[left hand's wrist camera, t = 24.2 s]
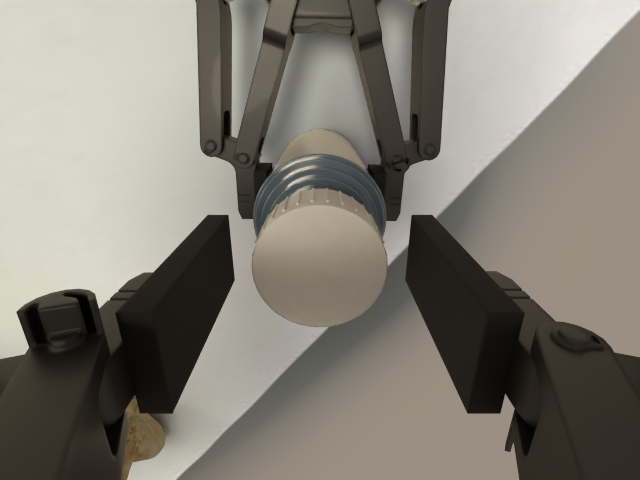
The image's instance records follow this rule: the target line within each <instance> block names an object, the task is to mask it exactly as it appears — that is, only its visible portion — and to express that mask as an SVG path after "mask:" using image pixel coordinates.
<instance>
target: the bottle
mask: <svg viewBox="0 0 640 480" xmlns="http://www.w3.org/2000/svg"><path fill="white" fill-rule="evenodd" d="M312 188H314V189H326V188H328V189H329V190H334V191H338V192H339V191H341V193H343V194H346V195H348V196H350V197H351V196H352V197H354V199H355V200H356V201H357V202H359V203H360V204H361V205H362V204H363V205H364V207H365V209H366V211H367V212H368V213H369V215H370V214H371V215H372V217H373V219H374V221H375V224H376V225H377V227H378V229H379V232H380V234H381V236H382V238H383V235H384V232H385V226H386V207H385V203H384V199H383V196H382V194H381V191H380V189H379V187H378V186H377V184H376V182H375V181H374V179H373V178H372V176H371V175H370V173H369V171H368V170H367V168H366V167H365V165H364V164H363V162H362V161H361V159H360V158H359V156H358V155H357V153H356V151H355V150H354V148H353V147H352V145H351V144H350V143H349V142H348V141H347V140H346V139H345V138H344V137H343V136H341V135H340V134H338V133H336V132H333V131H330V130H326V129H314V130H309V131H306V132H304V133H302V134H300V135H299V136H297V137H296V138H295V139H293V140H292V141H291V143H290V144H289V145H288V147H287V148H286V150H285V151H284V153H283V154H282V156H281V157H280V159H279V160H278V162H277V163H276V165H275V166H274V168H273V169H272V171H271V173H270V174H269V176H268V177H267V179H266V180H265V182H264V183H263V185H262V186H261V188H260V190H259V192H258V195H257V198H256V201H255V205H254V211H253V222H254V229H255V233H256V236H257V237H258V235H259V232H260V230H261V228H262V226H263V225H264V223H265V220H266V218H267V216H268V214H271V212H272V211H273V210H274V209H275V206H276V205H277V204H278V205H279V204H280V203H281V202H282V201H284V200H285V199H286V197H287V196H288V197H290V196H292V195H294V194H296V193H298V191H305V190H310V189H312Z"/></svg>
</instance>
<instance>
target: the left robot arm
mask: <svg viewBox="0 0 640 480" xmlns="http://www.w3.org/2000/svg"><path fill="white" fill-rule="evenodd" d="M234 280H235V278H234V268H233V258H232V248H231V238H230V228H229V217H228V215H208V216H207V217H206V218H205V219H204V220H203V221H202V222H201V223H200V224H199V225H198V226H197V227H196V228H195V229H194V230H193V231H192V232H191V233H190V235H189V236H188V237H187V238H186V239H185V240H184V241H183V242H182V243H181V244H180V245H179V246H178V247H177V248H176V249H175V250H174V251H173V252H172V254H171V255H170V256H169V257H168V258H167V259H166V260H165V261H164V262H163V263H162V264H161V265H160V266H159V267H158V268H157V269H156V270H155V271H154V273H142V274H140V275H139V276H137V277H135V278H133V279H131V280H129V281H128V282H127V283H126V284H125V285H124V286H123V287H122V288H120V289H119V292H116V293H115V294H114V295H113V296H112V297H111V298H110V301H107V302H106V303H105V304H104V305H103V306H102V307H101V308H100V309H99V307H98V304H97V300H96V296H95V294H94V293H93V292H91V291H90V290H83V289H71V290H63V291H59V292H54V293H50V294H47V295H44V296H42V297H39V298H36V299H34V300H33V301H31V302H29V303H27V304H25V305H24V306H23V307H21V308H20V309H19V310H18V311H17V315H18V317H19V320H20V323H21V326H22V329H23V331H24V334H25V337H26V340H27V342H28V345H29V349H28V350H27V352H26V354H25V355H20V356H15V357H10V358H4V359H0V480H121V474H122V468H123V461H124V454H125V448H126V441H127V434H128V428H129V424H128V418H127V414H126V408H127V407H128V405H129V403H130V402H131V400H132V399H133V397H134V395H135V396H136V400H137V404H138V408H139V412H140V413H173V411H174V409H175V407H176V405H177V403H178V400H179V398H180V396H181V394H182V392H183V390H184V388H185V385H186V383H187V381H188V379H189V377H190V375H191V373H192V370H193V368H194V366H195V364H196V362H197V360H198V357H199V355H200V353H201V351H202V349H203V347H204V345H205V342H206V340H207V338H208V336H209V334H210V332H211V330H212V327H213V325H214V323H215V321H216V319H217V317H218V315H219V312H220V310H221V308H222V306H223V304H224V302H225V300H226V297H227V295H228V293H229V291H230V289H231V287H232V285H233V282H234ZM405 280H406V282H407V285H408V287H409V289H410V291H411V293H412V295H413V297H414V300H415V302H416V304H417V306H418V308H419V310H420V312H421V315H422V317H423V319H424V321H425V323H426V325H427V327H428V330H429V332H430V334H431V336H432V338H433V340H434V342H435V345H436V347H437V349H438V351H439V353H440V355H441V357H442V360H443V362H444V364H445V366H446V368H447V370H448V372H449V375H450V377H451V379H452V381H453V383H454V385H455V387H456V390H457V392H458V394H459V396H460V398H461V400H462V403H463V405H464V407H465V409H466V411H467V413H500V412H501V408H502V404H503V400H504V396H505V393H506V395H507V397H508V398H509V400H510V401H511V403H512V405H513V406H514V408H515V410H514V414H513V418H512V421H511V425H510V429H509V433H508V437H507V440H506V446H505V451H508V452H510V451H511V447H512V444H513V443H514V447H515V453H516V460H517V466H518V473H519V480H640V357H634V356H629V355H624V354H619V353H614V351H613V350H612V348H611V347H610V346H609V344H608V343H607V342H606V341H605V340H604V339H603V338H601V337H600V336H598V335H597V334H595V333H593V332H592V331H589V330H587V329H585V328H582V327H580V326H577V325H573V324H569V323H565V322H556V321H555V320H554V319H553V318H552V317H551V316H550V315H548V314H547V313H546V312H545V311H544V310H543V309H542V308H541V307H540V306H539V305H538V304H537V303H536V302H535V301H534V300H533V299H530V296H529V295H528V294H526V293H525V292H524V291H522V289H521V288H520V287H519V286H518V285H517V284H516V283H515V282H514V281H513V280H512V279H510V278H508V277H506V276H504V275H502V274H500V273H498V272H496V271H485V270H484V269H483V268H482V267H481V266H480V265H479V264H478V263H477V262H476V261H475V260H474V259H473V258H472V257H471V256H470V255H469V254H468V253H467V251H466V250H465V249H464V248H463V247H462V246H461V245H460V244H459V243H458V242H457V241H456V240H455V239H454V238H453V237H452V236H451V235H450V233H449V232H448V231H447V230H446V229H445V228H444V227H443V226H442V225H441V224H440V223H439V222H438V221H437V220H436V219H435V218H434V217H433V216H432V215H412V217H411V228H410V238H409V248H408V258H407V269H406V279H405Z"/></svg>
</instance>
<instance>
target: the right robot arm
mask: <svg viewBox="0 0 640 480" xmlns="http://www.w3.org/2000/svg"><path fill="white" fill-rule="evenodd" d="M231 1H233V0H196V4H197V42H198V79H199V116H200V146H201V150H202V151H203V153H204V154H205V155H207V156H210V157H218V158H220V159H223V160H226V161H228V162H230V163H231V164H232V165H233V167H234V168H235V171H236V181H237V195H238V210H239V213H240V215H241V217H242V219H253V211H254V205H255V201H256V198H257V195H258V192H259V190H260V188H261V186H262V185H263V183H264V182H265V180H266V179H267V177H268V176H269V174H270V173H271V171H272V163H260V162H259V158H260V157H261V155H262V154H261V151H262V147H263V144H264V140H265V137H266V133H267V129H268V126H269V122H270V119H271V115H272V112H273V108H274V105H275V101H276V97H277V94H278V90H279V87H280V83H281V80H282V76H283V73H284V69H285V66H286V62H287V58H288V55H289V52H290V50H291V47H292V44H293V40H294V37H295V33H311V32H315V31H318V30H326V31H329V32H332V33H335V34H349V36H350V40H351V44H352V48H353V51H354V53H355V56H356V60H357V65H358V69H359V73H360V77H361V81H362V85H363V89H364V93H365V97H366V101H367V105H368V109H369V113H370V117H371V121H372V125H373V129H374V134H375V138H376V142H377V146H378V150H379V154H380V158H381V166H380V165H368V171H369V173H370V175H371V176H372V178H373V179H374V181H375V182H376V184H377V186H378V187H379V189H380V191H381V194H382V196H383V199H384V203H385V207H386V221H396V220H397V218H398V216H399V214H400V209H401V197H402V189H403V180H404V173H405V172H406V171H407V170H408V169H409V167H410V165H412V164H414V163H417V162H420V161H423V160H432V159H434V158H436V157H437V156H438V154H439V152H440V145H441V128H442V111H443V94H444V78H445V61H446V44H447V27H448V10H449V6H450V3H451V1H452V0H409V1H410V2H411V3H412V4H413V5H415V6H416V9H415V14H414V19H413V32H412V67H411V102H410V137H409V140H406V141H404V140H403V136H402V131H401V126H400V122H399V117H398V113H397V108H396V104H395V99H394V95H393V90H392V85H391V81H390V76H389V72H388V67H387V63H386V58H385V53H384V49H383V44H382V32H381V26H380V22H379V17H378V13H377V8H376V7H377V6H378V4H379V3H380V1H381V0H266V1H267V3H268V4H269V9H268V13H267V17H266V21H265V25H264V30H263V40H262V44H261V48H260V52H259V56H258V60H257V64H256V68H255V72H254V76H253V80H252V84H251V87H250V91H249V95H248V99H247V103H246V107H245V111H244V115H243V119H242V123H241V127H240V131H239V135H238V139H237V138H235V137H232V136H231V108H232V19H231V11H230V5H229V2H231Z"/></svg>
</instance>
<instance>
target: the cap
mask: <svg viewBox="0 0 640 480" xmlns="http://www.w3.org/2000/svg"><path fill="white" fill-rule="evenodd" d="M255 243H257V244H256V246H255V249H254V252H253V255H252V256H253V258H252V274H253V279H254V282H255V285H256V288H257V290H258V292H259V294H260V296H261V297H262V298H263V300H264V301H265V303H266V304H267V305H268V306H269V307H270V308H271V309H272V310H274V311H275V312H276V313H277V314H279V315H280V316H282V317H283V318H285V319H287V320H289V321H291V322H294V323H297V324H301V325H305V326H312V327H328V326H334V325H339V324H342V323H345V322H348V321H350V320H352V319H354V318H356V317H358V316H359V315H361V314H362V313H363V312H365V311H366V310H367V309H368V308H369V307H370V306H371V305H372V304H373V303H374V302H375V300H376V299H377V298H378V296H379V294H380V292H381V291H382V289H383V286H384V284H385V280H386V276H387V253H386V251H385V248H384V246H383V243H384V241H383V238H382V236H381V234H380V232H379V229H378V227H377V225H376V224H375V221H374V219H373V217H372V215H371V214H370V215H369V213H368V212H367V211H366V209H365V207H364V205H363V204H362V205H361V204H360V203H359V202H357V201H356V200H355V199H354V197H352V196H351V197H350V196H348V195H346V194H343V193H341V191H339V192H338V191H334V190H329V189H328V188H326V189H314V188H312V189H310V190H305V191H298V193H296V194H294V195H292V196H290V197H288V196H287V197H286V199H285V200H284V201H282V202H281V203H280V204H279V205H278V204H277V205H276V206H275V209H274V210H273V211H272V212H271V214H268V216H267V218H266V220H265V223H264V225H263V226H262V228H261V230H260V232H259V235H258V237H257V239H256V242H255Z"/></svg>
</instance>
